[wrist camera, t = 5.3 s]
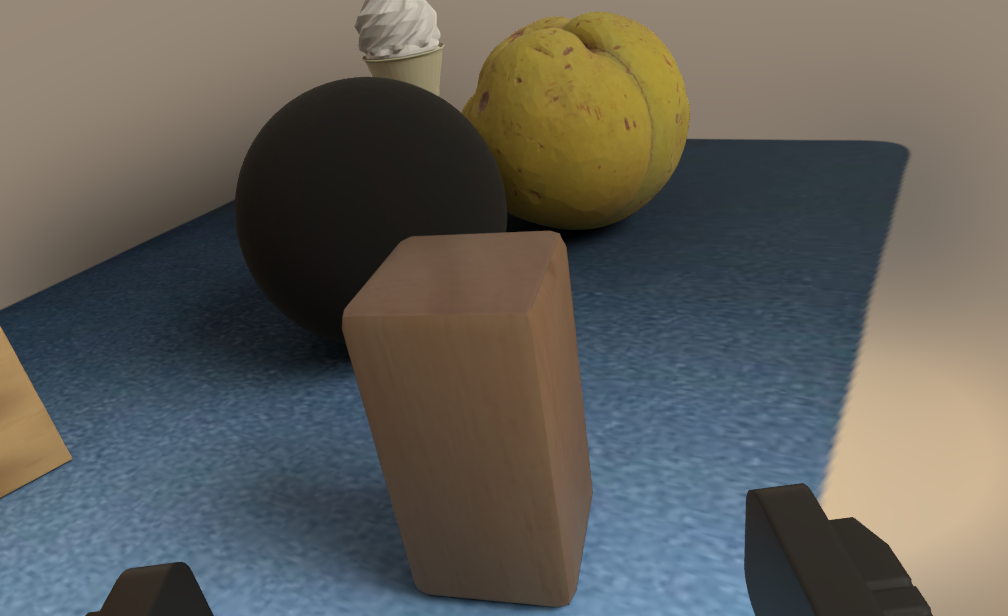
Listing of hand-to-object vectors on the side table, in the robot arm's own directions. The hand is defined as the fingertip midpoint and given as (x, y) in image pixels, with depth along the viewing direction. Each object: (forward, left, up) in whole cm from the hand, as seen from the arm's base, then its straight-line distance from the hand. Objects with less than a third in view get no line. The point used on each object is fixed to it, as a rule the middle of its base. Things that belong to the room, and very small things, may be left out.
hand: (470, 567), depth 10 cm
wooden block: (+4, +4, -6) cm, 9 cm away
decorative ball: (+10, +16, -6) cm, 20 cm away
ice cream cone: (+24, +30, -6) cm, 39 cm away
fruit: (+22, +16, -6) cm, 28 cm away
